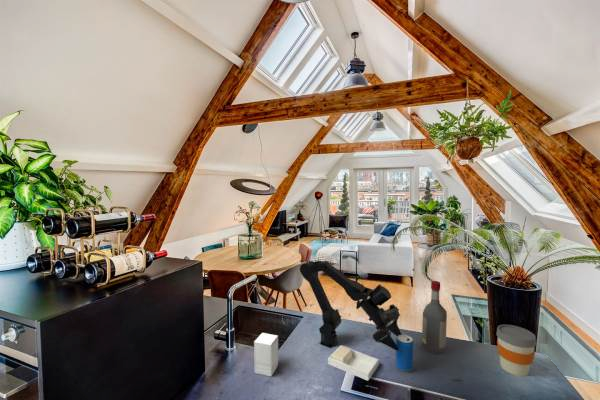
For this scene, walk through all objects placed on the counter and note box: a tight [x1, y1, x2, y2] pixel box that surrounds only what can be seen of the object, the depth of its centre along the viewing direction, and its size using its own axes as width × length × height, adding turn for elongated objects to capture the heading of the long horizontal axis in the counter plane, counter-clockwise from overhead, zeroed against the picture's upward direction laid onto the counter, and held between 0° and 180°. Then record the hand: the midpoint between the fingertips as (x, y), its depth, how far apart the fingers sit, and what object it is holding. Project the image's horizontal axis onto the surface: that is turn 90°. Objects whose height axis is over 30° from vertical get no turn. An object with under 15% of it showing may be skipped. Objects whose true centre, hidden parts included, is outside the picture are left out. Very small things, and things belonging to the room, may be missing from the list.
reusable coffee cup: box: [495, 324, 537, 377], centre depth 113 cm, size 13×13×15 cm
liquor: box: [421, 280, 448, 355], centre depth 127 cm, size 9×9×30 cm
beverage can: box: [395, 334, 414, 372], centre depth 113 cm, size 6×6×12 cm
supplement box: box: [253, 332, 279, 377], centre depth 112 cm, size 7×7×13 cm
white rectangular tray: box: [327, 345, 380, 381], centre depth 114 cm, size 17×11×3 cm, turn 55°
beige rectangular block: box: [331, 345, 353, 364], centre depth 117 cm, size 5×8×4 cm, turn 145°
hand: (400, 344), depth 114 cm, fingers open, 9 cm apart
